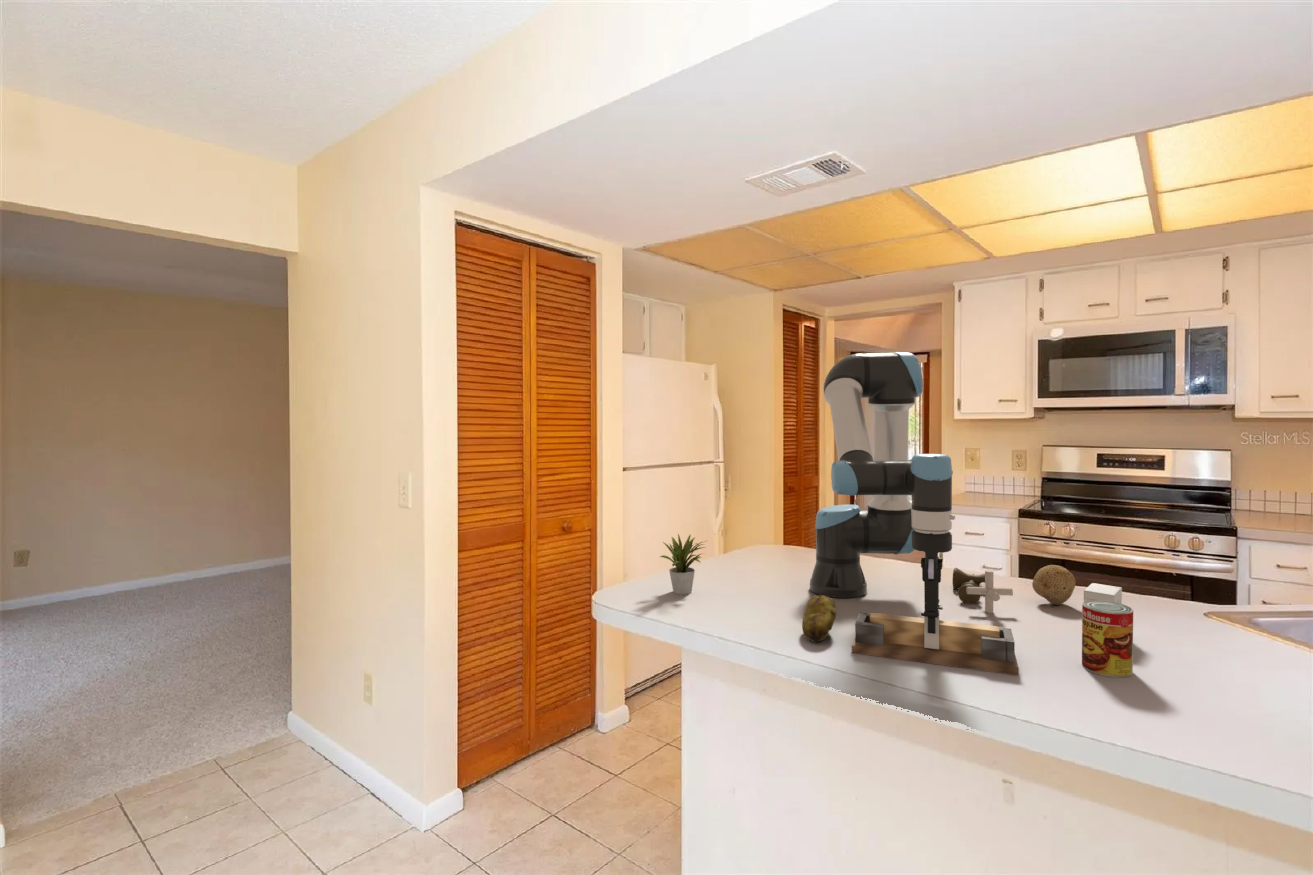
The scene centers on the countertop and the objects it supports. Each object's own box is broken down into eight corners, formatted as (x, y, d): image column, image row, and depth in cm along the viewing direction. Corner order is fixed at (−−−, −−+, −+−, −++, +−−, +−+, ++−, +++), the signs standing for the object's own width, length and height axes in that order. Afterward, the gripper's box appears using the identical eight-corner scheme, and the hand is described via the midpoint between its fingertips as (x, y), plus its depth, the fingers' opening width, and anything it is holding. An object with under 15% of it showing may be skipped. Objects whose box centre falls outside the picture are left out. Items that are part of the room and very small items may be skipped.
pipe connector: (1018, 619, 150) (1018, 577, 149) (972, 617, 152) (972, 575, 151) (1004, 606, 160) (1004, 566, 159) (961, 604, 162) (961, 565, 161)
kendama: (947, 604, 165) (954, 582, 182) (989, 610, 160) (992, 587, 177) (948, 581, 164) (954, 562, 182) (990, 586, 159) (993, 566, 177)
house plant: (702, 602, 168) (701, 540, 167) (651, 599, 172) (650, 538, 171) (713, 587, 181) (712, 530, 181) (666, 585, 185) (665, 529, 185)
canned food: (1072, 660, 125) (1073, 600, 125) (1113, 660, 125) (1114, 600, 124) (1099, 677, 117) (1099, 613, 117) (1143, 677, 117) (1143, 612, 116)
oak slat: (870, 640, 134) (869, 616, 134) (871, 635, 137) (871, 612, 137) (999, 656, 124) (999, 631, 124) (998, 651, 127) (998, 626, 126)
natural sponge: (1042, 609, 156) (1042, 569, 156) (1025, 599, 165) (1026, 560, 165) (1082, 610, 155) (1082, 569, 155) (1063, 599, 164) (1063, 561, 164)
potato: (787, 639, 140) (787, 603, 140) (814, 623, 150) (813, 589, 149) (823, 647, 135) (822, 610, 134) (848, 630, 144) (848, 596, 144)
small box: (1091, 628, 143) (1091, 582, 142) (1121, 634, 139) (1122, 586, 138) (1082, 638, 137) (1082, 589, 137) (1114, 644, 133) (1114, 594, 133)
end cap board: (851, 652, 131) (851, 626, 131) (859, 633, 142) (859, 609, 142) (1018, 675, 119) (1018, 646, 119) (1012, 652, 130) (1013, 626, 130)
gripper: (952, 538, 120) (952, 661, 121) (951, 524, 135) (952, 634, 136) (909, 536, 124) (909, 656, 124) (913, 522, 139) (914, 629, 139)
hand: (932, 644), depth 130 cm, fingers open, 3 cm apart
